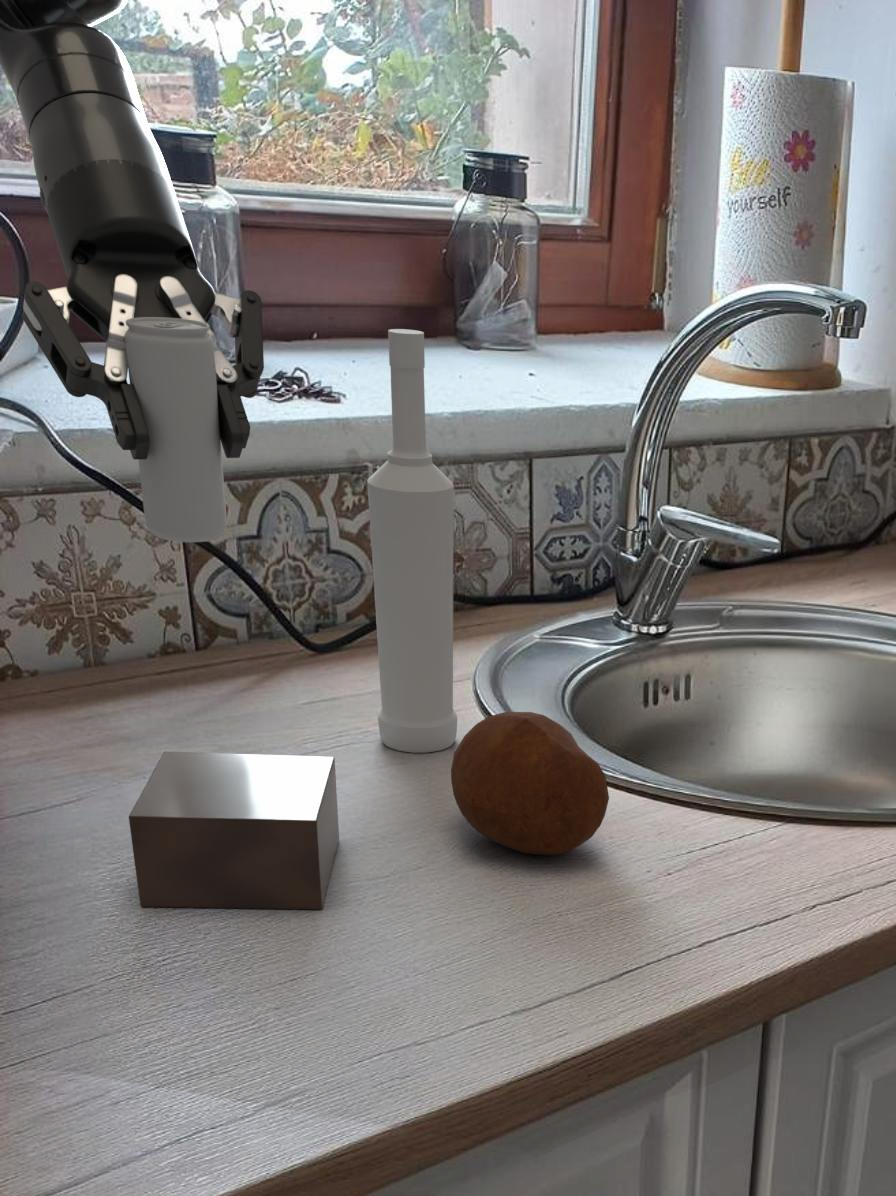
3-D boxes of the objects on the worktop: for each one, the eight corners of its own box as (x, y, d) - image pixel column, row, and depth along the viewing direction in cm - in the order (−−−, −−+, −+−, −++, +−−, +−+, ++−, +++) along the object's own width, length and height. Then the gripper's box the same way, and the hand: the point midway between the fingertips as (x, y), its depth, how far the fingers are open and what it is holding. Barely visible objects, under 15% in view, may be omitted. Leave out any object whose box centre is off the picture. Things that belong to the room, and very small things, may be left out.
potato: (547, 891, 84) (549, 761, 80) (406, 834, 88) (402, 710, 85) (643, 846, 90) (649, 724, 86) (506, 795, 95) (506, 678, 91)
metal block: (140, 907, 78) (128, 816, 75) (173, 835, 86) (163, 750, 83) (322, 910, 79) (316, 821, 77) (339, 839, 87) (334, 756, 85)
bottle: (471, 735, 103) (467, 333, 91) (433, 759, 99) (422, 340, 86) (404, 721, 104) (390, 322, 92) (362, 744, 100) (342, 329, 88)
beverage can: (131, 537, 93) (106, 321, 87) (170, 520, 97) (149, 314, 91) (206, 548, 92) (187, 332, 86) (243, 531, 96) (226, 323, 90)
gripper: (-16, 144, 86) (66, 412, 83) (241, 165, 93) (322, 411, 91) (-21, 239, 92) (56, 491, 90) (220, 251, 99) (296, 484, 97)
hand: (190, 449), depth 90 cm, fingers closed on beverage can, 4 cm apart
